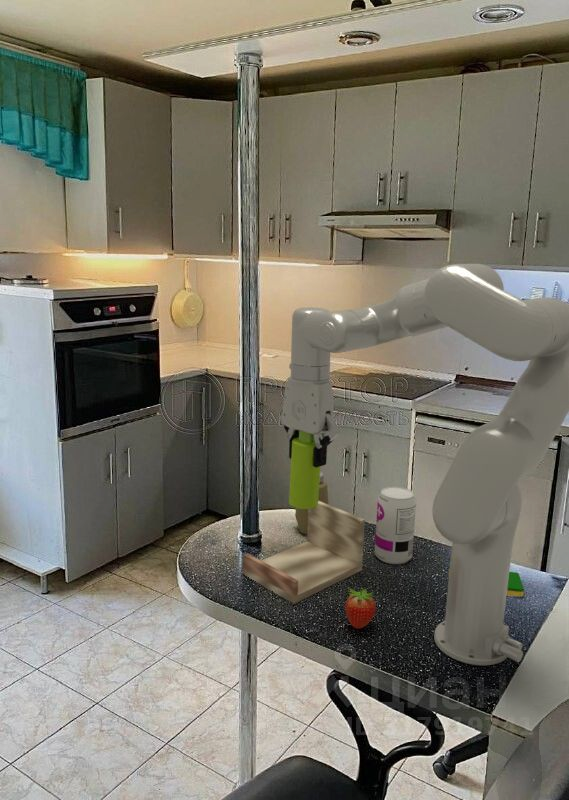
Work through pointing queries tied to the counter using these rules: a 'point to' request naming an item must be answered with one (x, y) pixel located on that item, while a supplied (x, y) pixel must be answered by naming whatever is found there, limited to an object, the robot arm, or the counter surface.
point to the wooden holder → (313, 556)
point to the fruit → (360, 608)
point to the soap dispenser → (303, 473)
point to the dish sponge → (513, 584)
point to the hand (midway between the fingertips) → (307, 460)
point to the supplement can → (395, 525)
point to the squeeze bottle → (303, 513)
